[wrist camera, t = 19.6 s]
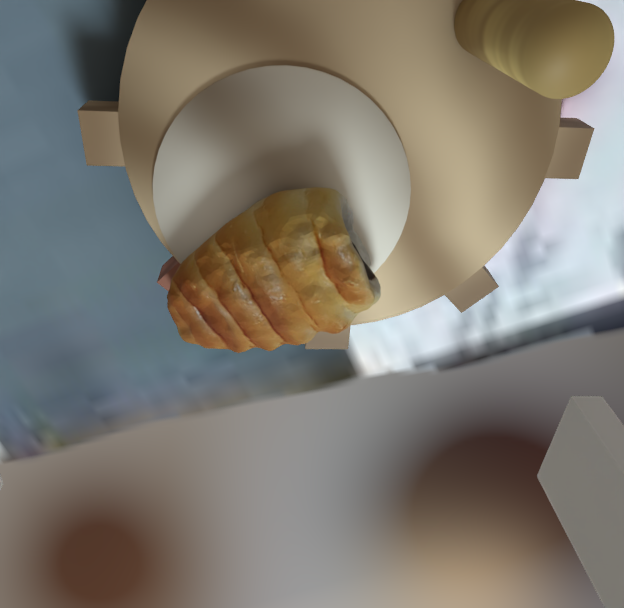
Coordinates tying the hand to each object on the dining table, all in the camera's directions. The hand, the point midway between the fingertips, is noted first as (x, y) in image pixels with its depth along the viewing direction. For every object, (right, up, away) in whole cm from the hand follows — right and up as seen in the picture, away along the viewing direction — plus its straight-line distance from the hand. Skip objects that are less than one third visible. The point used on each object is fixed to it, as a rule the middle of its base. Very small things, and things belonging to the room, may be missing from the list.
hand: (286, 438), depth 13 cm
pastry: (-1, +5, +13) cm, 14 cm away
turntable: (+2, +11, +12) cm, 16 cm away
